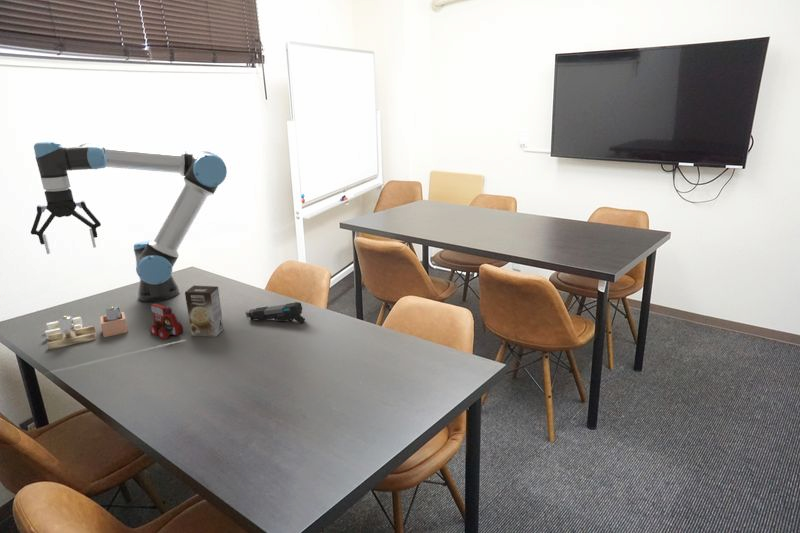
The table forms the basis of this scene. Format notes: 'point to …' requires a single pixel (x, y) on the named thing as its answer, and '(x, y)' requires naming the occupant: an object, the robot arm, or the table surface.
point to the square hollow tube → (114, 325)
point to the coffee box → (204, 310)
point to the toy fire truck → (164, 322)
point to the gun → (277, 313)
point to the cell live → (67, 327)
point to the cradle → (53, 330)
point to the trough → (82, 336)
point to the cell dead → (113, 313)
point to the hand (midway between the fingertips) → (72, 249)
